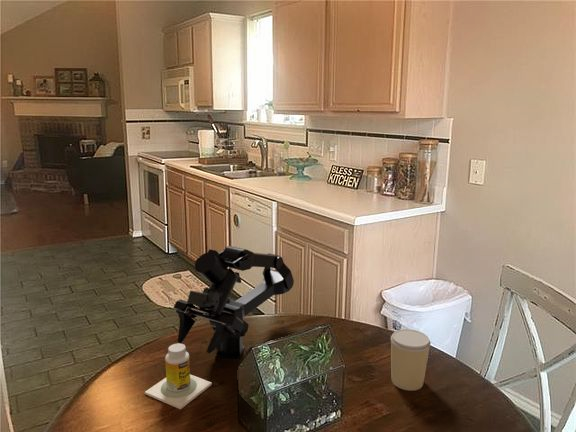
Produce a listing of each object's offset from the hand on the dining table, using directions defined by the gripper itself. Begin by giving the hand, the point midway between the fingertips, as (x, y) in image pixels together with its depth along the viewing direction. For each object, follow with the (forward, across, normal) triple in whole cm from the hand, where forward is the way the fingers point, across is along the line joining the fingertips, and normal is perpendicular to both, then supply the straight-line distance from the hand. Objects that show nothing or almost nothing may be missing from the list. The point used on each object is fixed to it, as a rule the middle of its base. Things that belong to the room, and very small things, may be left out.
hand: (193, 347), depth 115 cm
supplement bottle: (+9, 0, +2) cm, 9 cm away
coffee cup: (-12, +46, +25) cm, 54 cm away
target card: (+10, 0, +2) cm, 10 cm away
